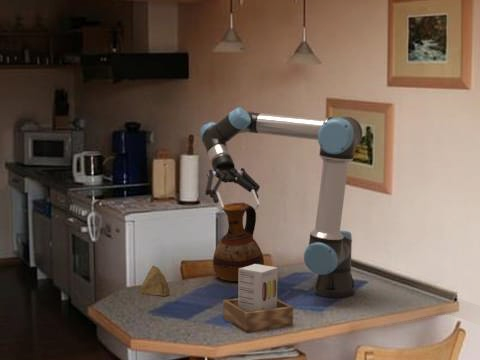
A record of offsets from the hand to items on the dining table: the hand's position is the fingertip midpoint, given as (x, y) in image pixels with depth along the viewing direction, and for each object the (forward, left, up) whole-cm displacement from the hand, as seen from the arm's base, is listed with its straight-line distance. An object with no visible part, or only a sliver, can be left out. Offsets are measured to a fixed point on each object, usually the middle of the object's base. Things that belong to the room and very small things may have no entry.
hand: (240, 208), depth 278 cm
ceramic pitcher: (-15, -33, -34) cm, 50 cm away
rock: (+22, -25, -34) cm, 47 cm away
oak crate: (+4, +21, -34) cm, 40 cm away
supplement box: (+4, +21, -33) cm, 39 cm away
